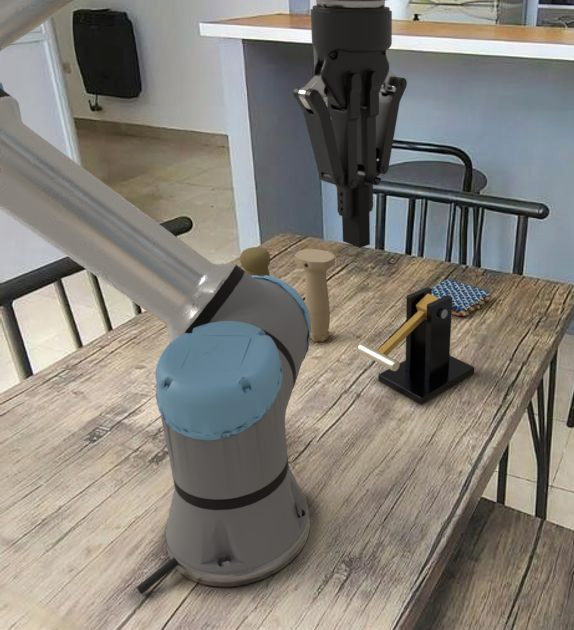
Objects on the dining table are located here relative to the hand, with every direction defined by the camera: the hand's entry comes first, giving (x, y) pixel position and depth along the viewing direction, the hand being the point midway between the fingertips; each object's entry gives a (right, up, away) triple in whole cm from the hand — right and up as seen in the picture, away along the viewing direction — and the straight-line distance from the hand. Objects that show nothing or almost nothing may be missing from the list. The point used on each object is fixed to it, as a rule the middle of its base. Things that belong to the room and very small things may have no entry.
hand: (356, 242), depth 74 cm
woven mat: (+14, -6, +54) cm, 56 cm away
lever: (+5, -11, +24) cm, 27 cm away
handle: (-10, -12, +41) cm, 44 cm away
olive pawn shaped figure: (-22, -6, +51) cm, 56 cm away
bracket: (+8, -17, +31) cm, 36 cm away
